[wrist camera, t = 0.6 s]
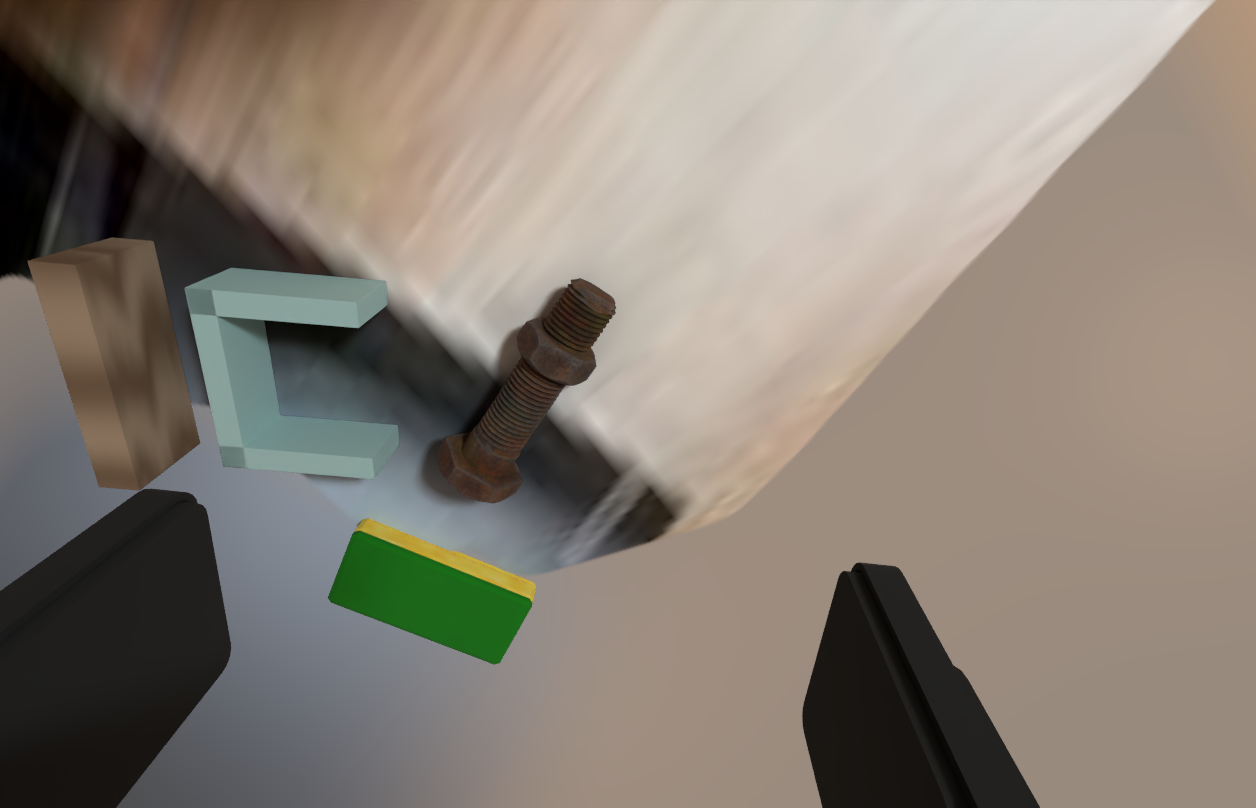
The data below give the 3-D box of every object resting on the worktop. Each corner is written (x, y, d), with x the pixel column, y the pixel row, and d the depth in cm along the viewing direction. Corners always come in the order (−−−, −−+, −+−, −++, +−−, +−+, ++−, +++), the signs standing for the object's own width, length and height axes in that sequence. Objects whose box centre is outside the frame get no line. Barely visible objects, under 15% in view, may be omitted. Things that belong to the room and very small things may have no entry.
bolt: (610, 282, 42) (495, 454, 47) (546, 251, 39) (430, 439, 44) (649, 331, 38) (518, 512, 43) (581, 300, 35) (449, 501, 40)
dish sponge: (366, 512, 49) (352, 532, 46) (538, 582, 51) (533, 604, 49) (339, 580, 51) (325, 601, 49) (503, 643, 54) (497, 667, 52)
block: (231, 267, 40) (184, 287, 36) (385, 280, 41) (356, 302, 36) (261, 432, 45) (223, 466, 41) (399, 444, 45) (374, 479, 41)
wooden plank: (112, 237, 40) (27, 260, 35) (153, 241, 40) (75, 265, 35) (164, 440, 46) (99, 486, 41) (200, 443, 46) (139, 490, 41)
